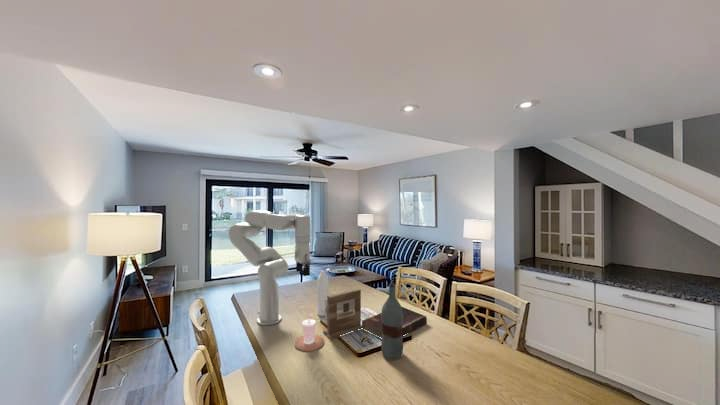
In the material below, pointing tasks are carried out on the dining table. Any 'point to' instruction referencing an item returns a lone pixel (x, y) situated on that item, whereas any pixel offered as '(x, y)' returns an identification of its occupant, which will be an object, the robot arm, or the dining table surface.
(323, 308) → the water bottle
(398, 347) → the vodka
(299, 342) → the peach round disc
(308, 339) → the beverage cup
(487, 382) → the dining table surface
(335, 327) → the mount stand
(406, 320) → the hardback book
